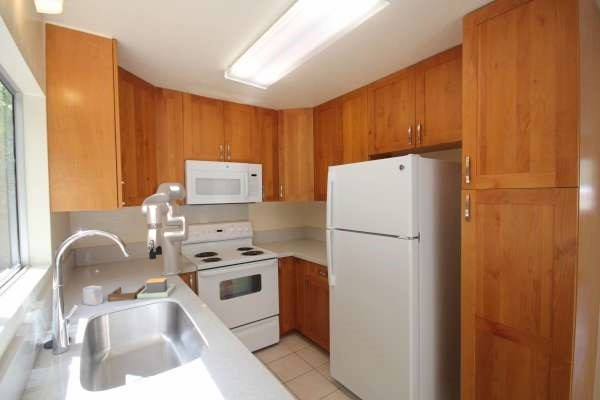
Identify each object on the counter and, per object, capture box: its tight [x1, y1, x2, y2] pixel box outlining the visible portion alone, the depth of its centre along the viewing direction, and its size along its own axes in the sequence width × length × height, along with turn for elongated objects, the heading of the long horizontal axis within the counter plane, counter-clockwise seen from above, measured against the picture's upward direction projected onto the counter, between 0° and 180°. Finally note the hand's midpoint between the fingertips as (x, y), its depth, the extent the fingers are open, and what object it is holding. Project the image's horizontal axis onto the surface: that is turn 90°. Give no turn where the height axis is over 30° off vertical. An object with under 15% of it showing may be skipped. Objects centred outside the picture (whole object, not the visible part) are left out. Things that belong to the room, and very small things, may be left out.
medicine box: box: [82, 285, 104, 307], centre depth 139 cm, size 8×4×9 cm, turn 74°
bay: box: [107, 284, 146, 302], centre depth 149 cm, size 12×13×4 cm
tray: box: [136, 283, 176, 300], centre depth 152 cm, size 14×15×2 cm
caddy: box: [145, 277, 168, 294], centre depth 152 cm, size 5×9×7 cm, turn 99°
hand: (156, 256), depth 152 cm, fingers open, 9 cm apart
